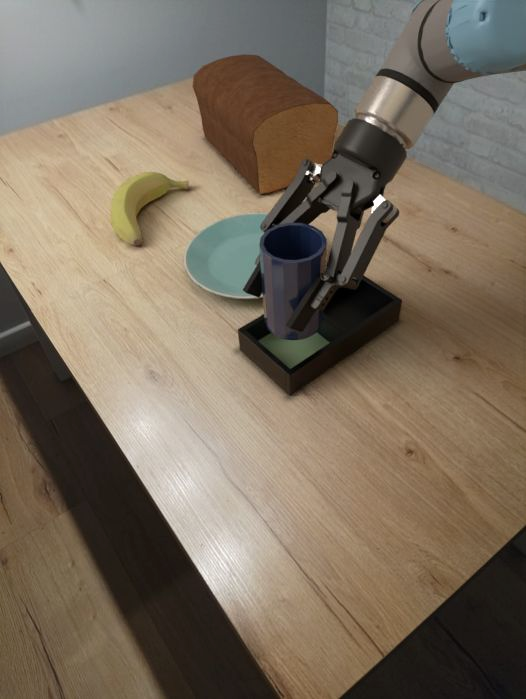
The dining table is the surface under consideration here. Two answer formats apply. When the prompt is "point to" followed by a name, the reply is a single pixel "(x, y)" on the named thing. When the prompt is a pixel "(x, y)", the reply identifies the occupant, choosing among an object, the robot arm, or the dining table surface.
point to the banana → (137, 202)
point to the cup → (290, 275)
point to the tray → (322, 336)
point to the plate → (226, 255)
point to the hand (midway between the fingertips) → (271, 310)
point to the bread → (263, 120)
